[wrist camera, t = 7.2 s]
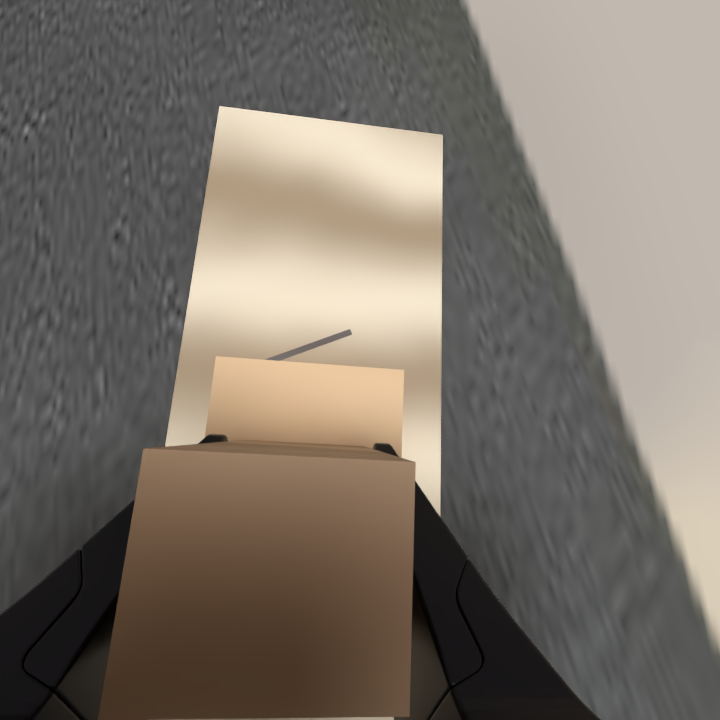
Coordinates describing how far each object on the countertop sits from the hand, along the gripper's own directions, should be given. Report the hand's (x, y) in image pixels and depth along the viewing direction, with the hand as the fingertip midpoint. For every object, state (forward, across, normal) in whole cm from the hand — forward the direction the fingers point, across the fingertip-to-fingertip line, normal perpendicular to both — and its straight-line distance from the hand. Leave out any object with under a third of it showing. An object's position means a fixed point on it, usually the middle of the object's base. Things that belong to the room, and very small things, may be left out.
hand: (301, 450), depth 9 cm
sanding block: (+2, 0, +4) cm, 4 cm away
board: (+7, 0, +4) cm, 8 cm away
